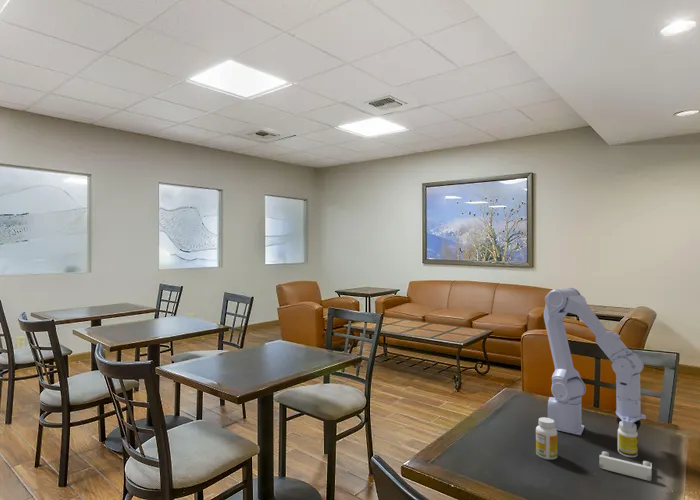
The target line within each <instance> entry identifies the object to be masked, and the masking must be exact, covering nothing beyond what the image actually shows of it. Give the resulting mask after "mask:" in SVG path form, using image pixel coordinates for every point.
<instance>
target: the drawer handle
mask: <svg viewBox="0 0 700 500" xmlns="http://www.w3.org/2000/svg"><path fill="white" fill-rule="evenodd" d="M598 459H599V463H598V464H599V466H598V468H599V469H602V470H606V471H610V472H614V473H618V474H621V475H625V476H629V477H633V478H637V479H641V480H645V481H648V482H652V473H653V472H652V469H653V468H652V467H653V465H652V464H653V463H652V462H650V461H648V460H643V461H642V464H640V463H637V462H631V461H628V460H624V459H620V458H616V457H612V456H611V457H610V453H609V451H606V450H605V451H604V450H602V451H601V454H599V457H598Z"/></svg>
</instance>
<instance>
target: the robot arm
mask: <svg viewBox="0 0 700 500" xmlns="http://www.w3.org/2000/svg"><path fill="white" fill-rule="evenodd" d="M544 302H545V305H544V310H543V321H544V324H545V325H544V326H545V328H546V329H545V330H546V334H547V338H548V343H549V349H550V352H551V356H552V357H551V358H552V361H553V365H554V366H553V367H554V372H553V373H552V376H551V383H552V384H551V388H550V390H551V394H552V395H553V396H549V398H548V401H547V418H550V419H553V420H554V422H555V426H554V428H555V429H556V430H557V431H559V432H564V433H568V434H573V435H578V436H582V433H583V431H584V429H585V425H584V424H582V397H583V396H584V395H585V393H586V390H587V387H586V384H585V382H584V381H583V379H582V377H581V374H580V372H579V371H578V370H577V369H576V368H575V367H574V363H573V358H572V353H571V349H570V345H569V340H568V337H567V332H566V328H565V322H564V318H565V316H567V315H568V314H573V315H577V317H578V319H580V320H581V321H582V322H583V324H584V325H585V326H586V327H587V328H588V329H589V330H590V331H591V332H592V334H594V336H595V343H596V344H597V345H598V347H599V348H600V349H601V350H602V351H603V353H604V354H605V356H607V358H608V359H609V361H611V362H612V363H611V368H612V370H613V372H614V373H615V378H616V380H615V384H616V385H615V387H616V388H615V396H616V398H615V400H616V401H615V402H616V405H615V408H616V409H615V414H616V416H617V417H616V423H617V425H618V426H619V422H620V421H623V428H628V429H632V423H634V424H636V428H637V430H636V432H637V433H638V431H639V429H640V427H641V422H642V421H641V420H646V419H647V415H646V414H643V413H641V412H642V411H641V372H642V371H643V370H644V366H645V365H644V361H643V359H642V358H641V356H640V355H639V354H637V353H634V352H633V351H632V350H631V349H630V348H628V347H627V346H626V345H625V343H624V342H623V341H622V340H621V339H620V338H621V335H619V333H615V332H614V331H612V330H609V329H607V328H606V327H605V326H604V325H603V323H602V322H601V321H600V319H599V317H597V314H595V313H594V311H593V310H592V308H591V307H590V306H589V304H588V303H587V300H586V297H584V296H583V295H581V293H580V291H579V290H578V289H576V288H573V287H567V288H561V289H560V288H554V289H552V290H550V291H549V292H548V293H547V294H546V295H545V297H544Z"/></svg>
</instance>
